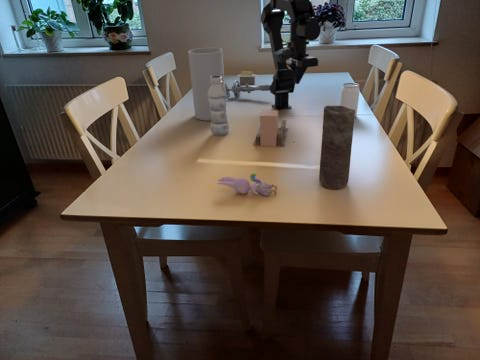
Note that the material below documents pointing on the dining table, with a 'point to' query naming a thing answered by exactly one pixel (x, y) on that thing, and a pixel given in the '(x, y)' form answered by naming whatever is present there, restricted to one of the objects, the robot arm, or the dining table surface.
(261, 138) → the block
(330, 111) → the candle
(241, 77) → the platform
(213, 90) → the plastic bottle
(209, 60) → the cylinder vase
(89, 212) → the dining table surface
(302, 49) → the robot arm
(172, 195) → the dining table surface
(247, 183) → the purple toy figure
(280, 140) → the chute
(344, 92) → the can
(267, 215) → the dining table surface
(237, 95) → the spaceship
